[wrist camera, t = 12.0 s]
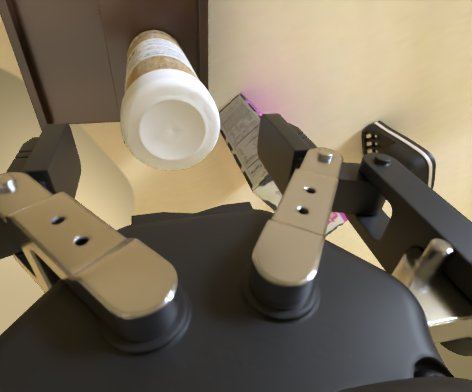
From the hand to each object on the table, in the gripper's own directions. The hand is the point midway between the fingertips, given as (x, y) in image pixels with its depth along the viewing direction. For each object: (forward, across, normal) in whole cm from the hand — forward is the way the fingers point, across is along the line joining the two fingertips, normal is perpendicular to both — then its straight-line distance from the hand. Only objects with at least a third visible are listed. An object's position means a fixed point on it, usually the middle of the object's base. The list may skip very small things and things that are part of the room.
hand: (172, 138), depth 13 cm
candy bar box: (+23, -12, +11) cm, 28 cm away
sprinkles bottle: (+14, 0, 0) cm, 14 cm away
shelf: (+23, +4, 0) cm, 23 cm away
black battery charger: (+23, -31, +14) cm, 41 cm away
